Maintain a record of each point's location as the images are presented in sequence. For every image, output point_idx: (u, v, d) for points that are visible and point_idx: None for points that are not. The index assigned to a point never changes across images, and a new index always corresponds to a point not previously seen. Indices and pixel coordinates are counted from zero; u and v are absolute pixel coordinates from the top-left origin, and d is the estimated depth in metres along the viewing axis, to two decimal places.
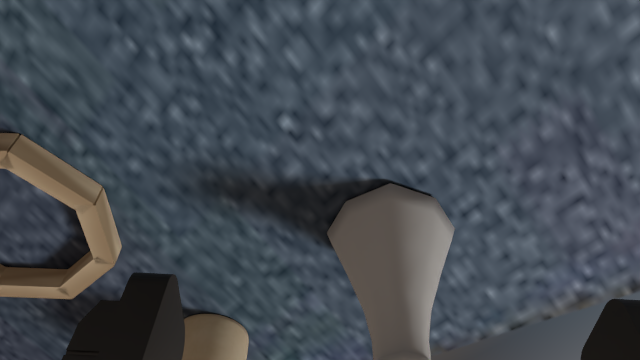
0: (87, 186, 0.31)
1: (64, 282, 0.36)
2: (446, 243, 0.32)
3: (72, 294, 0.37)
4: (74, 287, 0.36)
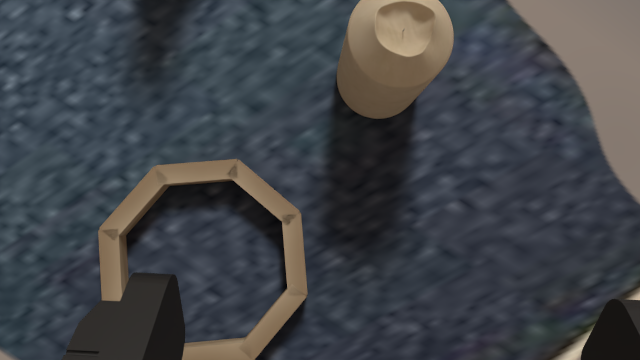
0: None
1: (276, 216, 0.35)
2: None
3: (292, 210, 0.35)
4: (280, 205, 0.35)
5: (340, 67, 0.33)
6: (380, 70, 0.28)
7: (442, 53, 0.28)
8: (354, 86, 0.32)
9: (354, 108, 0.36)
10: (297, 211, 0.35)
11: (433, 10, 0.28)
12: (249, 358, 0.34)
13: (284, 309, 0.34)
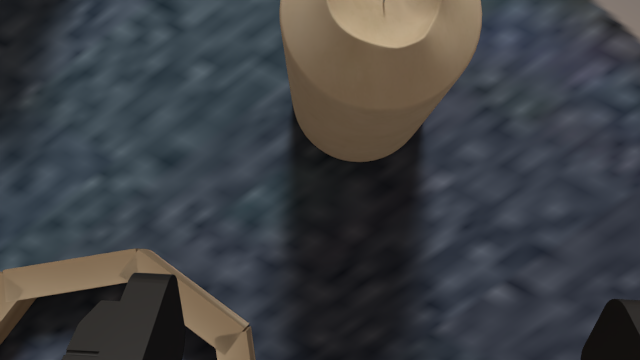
0: None
1: (206, 340, 0.21)
2: None
3: (231, 327, 0.21)
4: (211, 321, 0.21)
5: None
6: (346, 80, 0.14)
7: (463, 39, 0.15)
8: (311, 114, 0.18)
9: (323, 149, 0.22)
10: (240, 328, 0.21)
11: None
12: None
13: None
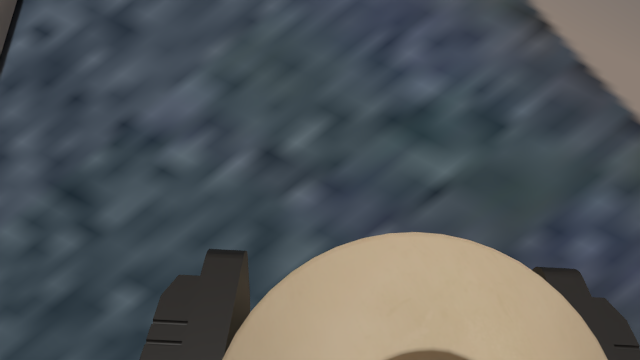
0: None
1: None
2: None
3: None
4: None
5: None
6: None
7: None
8: None
9: None
10: None
11: None
12: None
13: None
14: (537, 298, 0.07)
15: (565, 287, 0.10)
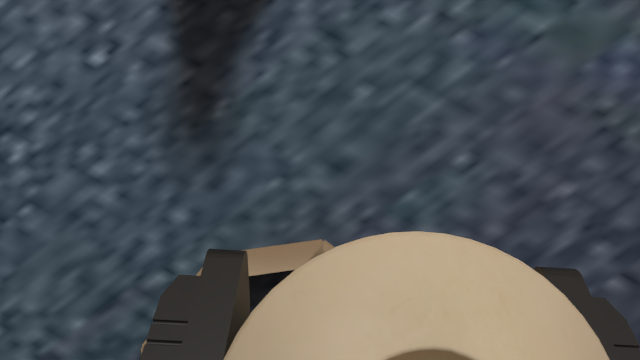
0: None
1: None
2: None
3: None
4: None
5: None
6: None
7: None
8: None
9: None
10: None
11: None
12: None
13: None
14: (539, 297, 0.07)
15: (565, 287, 0.10)
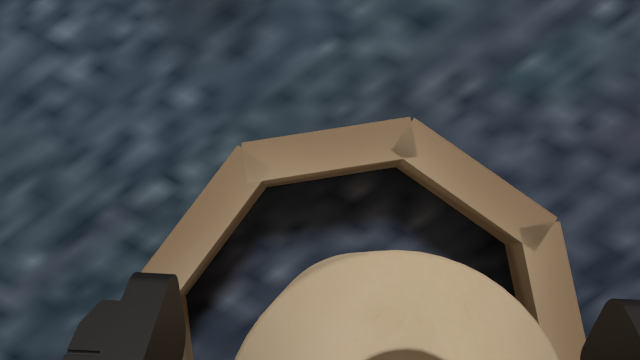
0: None
1: (506, 233, 0.16)
2: None
3: (541, 216, 0.16)
4: (513, 208, 0.16)
5: None
6: None
7: None
8: None
9: None
10: (552, 218, 0.16)
11: None
12: None
13: None
14: (498, 306, 0.09)
15: None
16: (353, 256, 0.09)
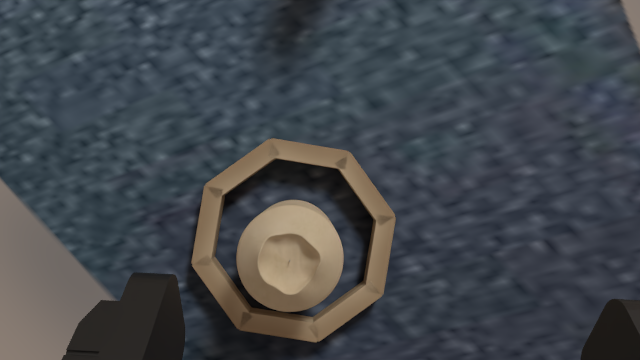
0: None
1: (371, 214, 0.36)
2: None
3: (388, 212, 0.36)
4: (378, 205, 0.36)
5: None
6: (258, 292, 0.28)
7: (322, 290, 0.28)
8: None
9: None
10: (393, 215, 0.36)
11: (320, 253, 0.27)
12: (315, 338, 0.36)
13: (358, 302, 0.36)
14: (329, 233, 0.28)
15: None
16: (294, 205, 0.29)
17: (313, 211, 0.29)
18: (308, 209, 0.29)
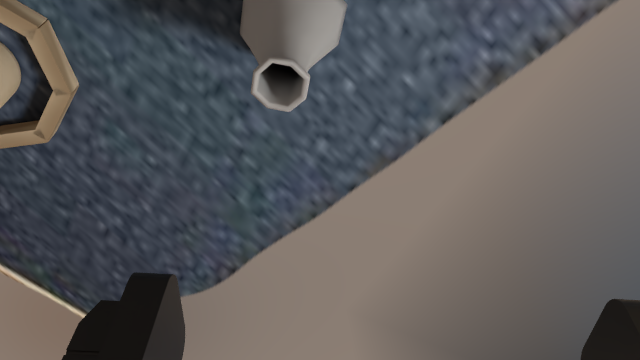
0: (32, 15, 0.38)
1: (38, 124, 0.42)
2: (336, 11, 0.36)
3: (47, 136, 0.43)
4: (46, 127, 0.42)
5: None
6: None
7: None
8: None
9: None
10: (47, 140, 0.43)
11: None
12: None
13: None
14: None
15: None
16: None
17: None
18: None
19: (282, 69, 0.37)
